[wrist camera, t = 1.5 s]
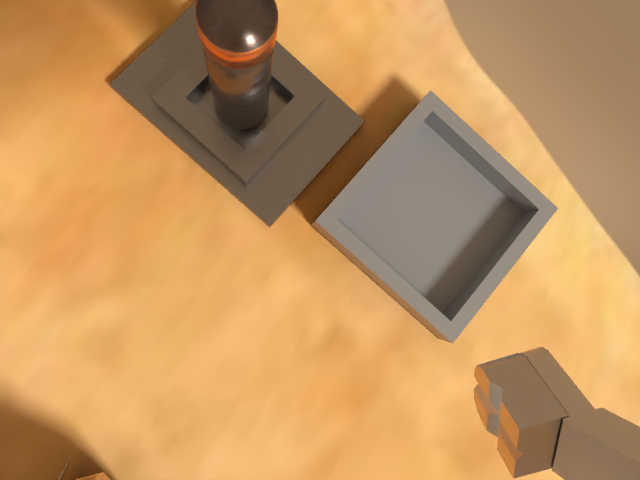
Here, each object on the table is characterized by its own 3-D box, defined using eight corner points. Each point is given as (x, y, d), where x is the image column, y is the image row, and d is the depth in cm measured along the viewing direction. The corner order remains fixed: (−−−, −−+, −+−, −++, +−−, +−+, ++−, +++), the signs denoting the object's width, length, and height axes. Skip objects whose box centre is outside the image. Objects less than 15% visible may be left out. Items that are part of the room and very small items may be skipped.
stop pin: (201, 104, 32) (177, 12, 21) (239, 66, 32) (233, -42, 22) (243, 141, 32) (240, 70, 21) (279, 103, 33) (294, 14, 22)
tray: (310, 225, 33) (315, 220, 30) (417, 103, 35) (430, 90, 32) (438, 338, 33) (452, 343, 31) (536, 213, 35) (557, 208, 33)
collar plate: (111, 88, 32) (103, 76, 30) (214, -11, 33) (212, -28, 31) (269, 227, 32) (270, 224, 31) (362, 124, 34) (368, 115, 32)
